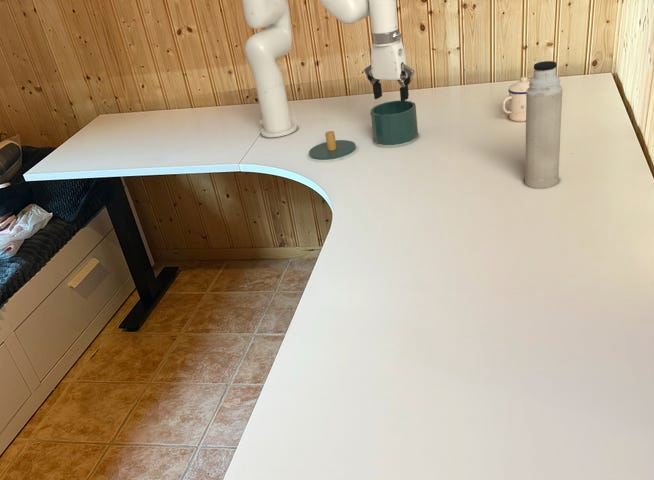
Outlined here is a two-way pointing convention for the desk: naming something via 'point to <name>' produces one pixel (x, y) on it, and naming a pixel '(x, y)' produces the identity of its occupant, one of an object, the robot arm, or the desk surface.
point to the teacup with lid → (517, 100)
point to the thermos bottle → (543, 126)
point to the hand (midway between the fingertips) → (391, 98)
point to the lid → (332, 148)
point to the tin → (394, 122)
